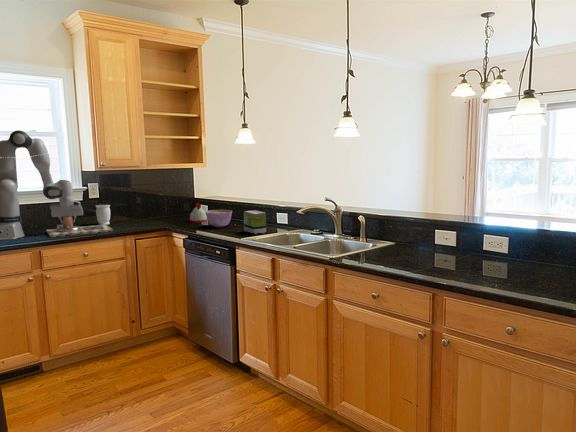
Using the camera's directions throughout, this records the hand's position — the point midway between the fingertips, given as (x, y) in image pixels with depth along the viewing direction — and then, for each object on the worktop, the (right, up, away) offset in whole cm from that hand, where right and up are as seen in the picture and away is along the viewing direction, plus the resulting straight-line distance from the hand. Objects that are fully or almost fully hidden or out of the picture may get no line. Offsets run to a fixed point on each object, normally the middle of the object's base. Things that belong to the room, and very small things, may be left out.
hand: (68, 222), depth 309 cm
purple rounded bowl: (+103, -4, +24) cm, 106 cm away
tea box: (+132, -7, +1) cm, 132 cm away
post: (0, -6, +1) cm, 6 cm away
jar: (+10, -2, +36) cm, 38 cm away
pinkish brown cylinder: (0, -4, -1) cm, 4 cm away
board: (+6, -7, +4) cm, 10 cm away
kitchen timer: (+82, 0, +51) cm, 96 cm away
